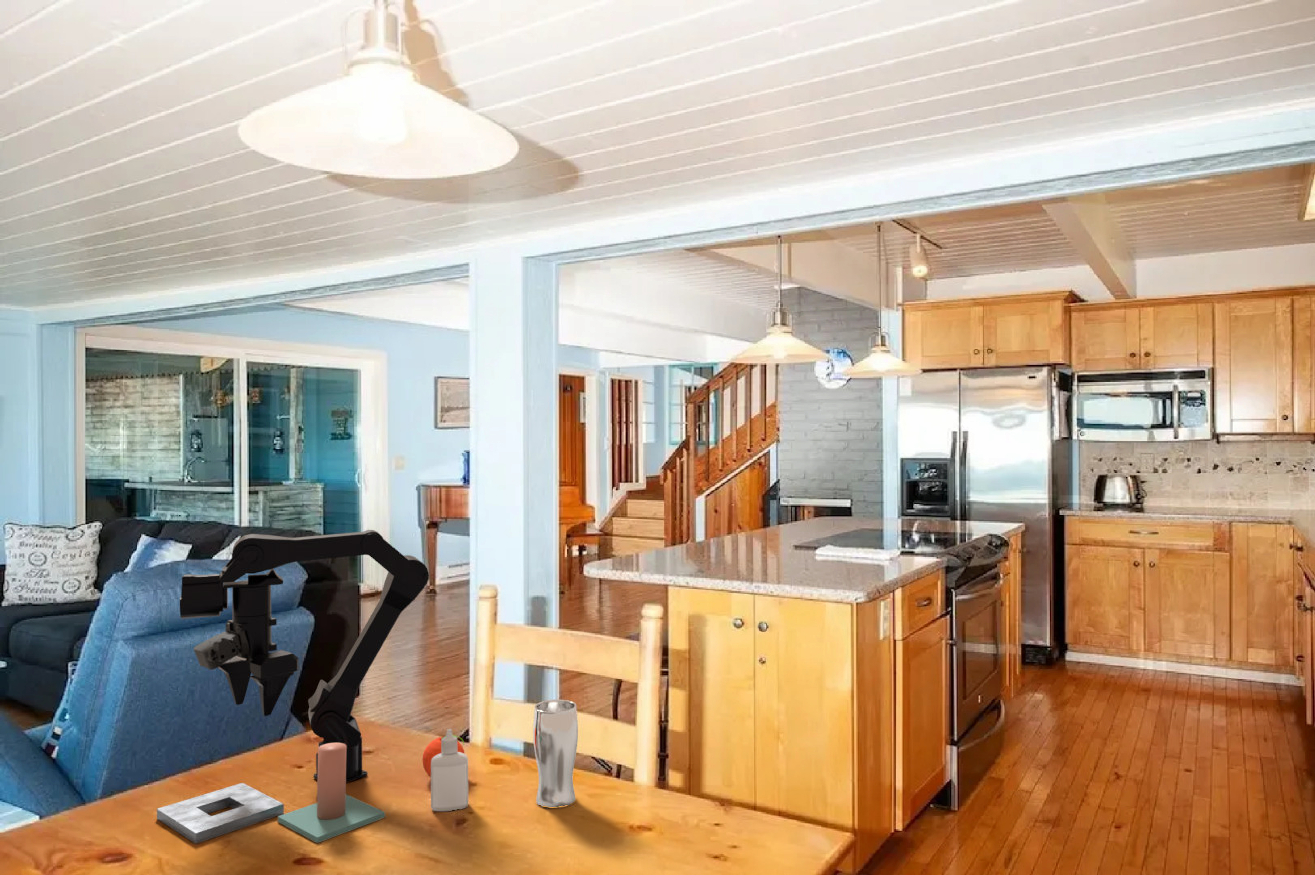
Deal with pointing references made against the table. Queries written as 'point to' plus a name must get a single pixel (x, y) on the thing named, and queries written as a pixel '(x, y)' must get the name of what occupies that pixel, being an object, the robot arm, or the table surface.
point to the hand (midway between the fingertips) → (252, 709)
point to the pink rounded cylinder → (331, 781)
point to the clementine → (435, 752)
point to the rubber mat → (325, 829)
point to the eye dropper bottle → (449, 776)
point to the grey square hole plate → (201, 826)
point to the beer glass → (555, 751)
